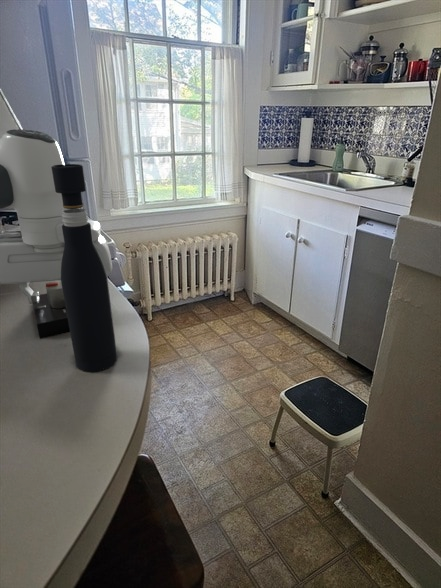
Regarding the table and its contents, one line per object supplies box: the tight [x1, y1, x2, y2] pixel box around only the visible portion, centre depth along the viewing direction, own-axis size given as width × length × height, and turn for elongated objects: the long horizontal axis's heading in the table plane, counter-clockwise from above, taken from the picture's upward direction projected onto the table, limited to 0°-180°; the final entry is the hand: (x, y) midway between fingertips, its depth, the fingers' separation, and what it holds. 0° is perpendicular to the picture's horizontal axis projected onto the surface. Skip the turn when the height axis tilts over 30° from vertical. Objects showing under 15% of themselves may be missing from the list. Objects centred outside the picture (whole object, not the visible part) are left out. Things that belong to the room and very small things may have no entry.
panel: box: [32, 293, 70, 340], centre depth 76 cm, size 13×10×3 cm
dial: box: [45, 280, 66, 309], centre depth 74 cm, size 4×4×4 cm
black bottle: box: [51, 163, 118, 373], centre depth 57 cm, size 6×6×30 cm
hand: (61, 300), depth 75 cm, fingers open, 8 cm apart
